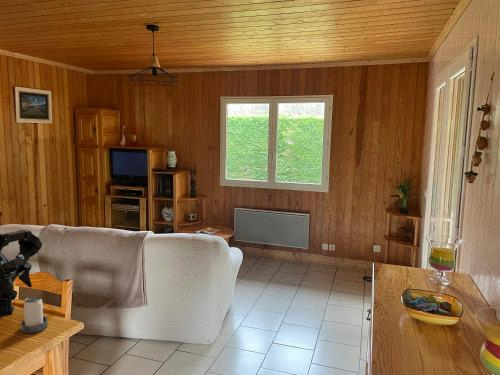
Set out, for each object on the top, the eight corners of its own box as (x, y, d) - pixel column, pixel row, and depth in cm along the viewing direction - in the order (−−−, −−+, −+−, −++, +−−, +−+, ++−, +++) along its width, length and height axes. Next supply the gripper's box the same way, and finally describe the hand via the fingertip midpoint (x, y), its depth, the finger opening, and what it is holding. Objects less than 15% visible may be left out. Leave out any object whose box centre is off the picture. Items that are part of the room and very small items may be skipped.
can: (34, 332, 147) (33, 303, 145) (21, 329, 149) (19, 301, 147) (47, 324, 153) (46, 296, 151) (34, 321, 155) (32, 294, 153)
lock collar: (22, 324, 153) (22, 317, 153) (48, 320, 157) (48, 314, 157) (19, 335, 145) (19, 328, 145) (46, 331, 149) (46, 324, 148)
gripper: (-11, 257, 143) (13, 288, 142) (28, 244, 161) (50, 271, 160) (-27, 274, 146) (-3, 305, 145) (13, 259, 164) (35, 286, 163)
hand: (22, 291), depth 153 cm, fingers open, 9 cm apart
